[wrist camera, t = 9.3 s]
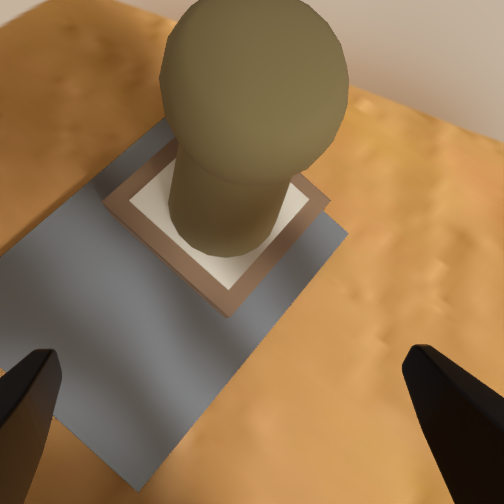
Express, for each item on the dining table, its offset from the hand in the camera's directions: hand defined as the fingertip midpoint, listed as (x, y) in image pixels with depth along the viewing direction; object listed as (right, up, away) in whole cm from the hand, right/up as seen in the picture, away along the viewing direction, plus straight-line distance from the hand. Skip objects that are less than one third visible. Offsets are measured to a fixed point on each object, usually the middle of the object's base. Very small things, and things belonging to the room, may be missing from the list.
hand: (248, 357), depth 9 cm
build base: (-5, +2, +12) cm, 13 cm away
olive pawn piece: (-1, +5, +10) cm, 11 cm away
